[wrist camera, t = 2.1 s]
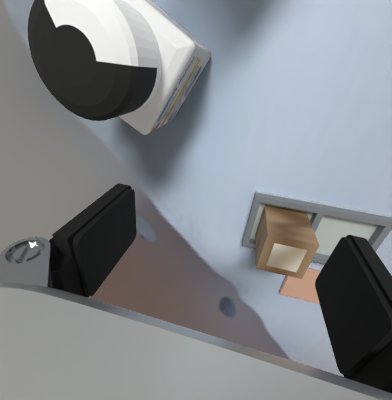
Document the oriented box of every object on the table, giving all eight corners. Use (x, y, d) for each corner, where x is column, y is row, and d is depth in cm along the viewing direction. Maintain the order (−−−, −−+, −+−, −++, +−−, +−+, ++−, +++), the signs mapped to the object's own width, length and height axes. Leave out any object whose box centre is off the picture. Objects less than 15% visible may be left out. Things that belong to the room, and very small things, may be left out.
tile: (336, 274, 30) (337, 277, 30) (319, 300, 33) (320, 304, 33) (291, 264, 31) (292, 267, 31) (279, 290, 34) (279, 294, 34)
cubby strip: (389, 215, 25) (396, 222, 23) (356, 264, 29) (360, 271, 28) (255, 191, 27) (255, 196, 26) (242, 239, 31) (242, 245, 30)
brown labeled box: (306, 212, 26) (319, 246, 21) (293, 243, 29) (302, 279, 24) (264, 204, 27) (267, 235, 22) (255, 235, 30) (256, 269, 24)
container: (173, 121, 25) (109, 158, 14) (115, 76, 24) (-3, 78, 13) (213, 53, 21) (170, 30, 10) (146, -4, 20) (13, -102, 9)
